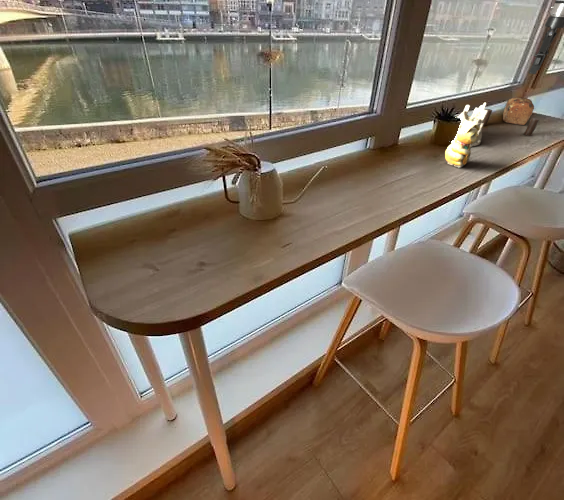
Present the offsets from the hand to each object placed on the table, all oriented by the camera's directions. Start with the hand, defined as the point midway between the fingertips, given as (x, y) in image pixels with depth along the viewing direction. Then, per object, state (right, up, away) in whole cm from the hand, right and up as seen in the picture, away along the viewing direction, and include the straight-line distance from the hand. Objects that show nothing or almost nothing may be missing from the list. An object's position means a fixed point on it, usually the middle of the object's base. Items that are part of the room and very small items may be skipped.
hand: (533, 71), depth 152 cm
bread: (-1, -18, +12) cm, 22 cm away
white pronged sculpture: (-43, -37, -14) cm, 58 cm away
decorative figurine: (-56, -53, -35) cm, 85 cm away
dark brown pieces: (-15, -28, -2) cm, 32 cm away
